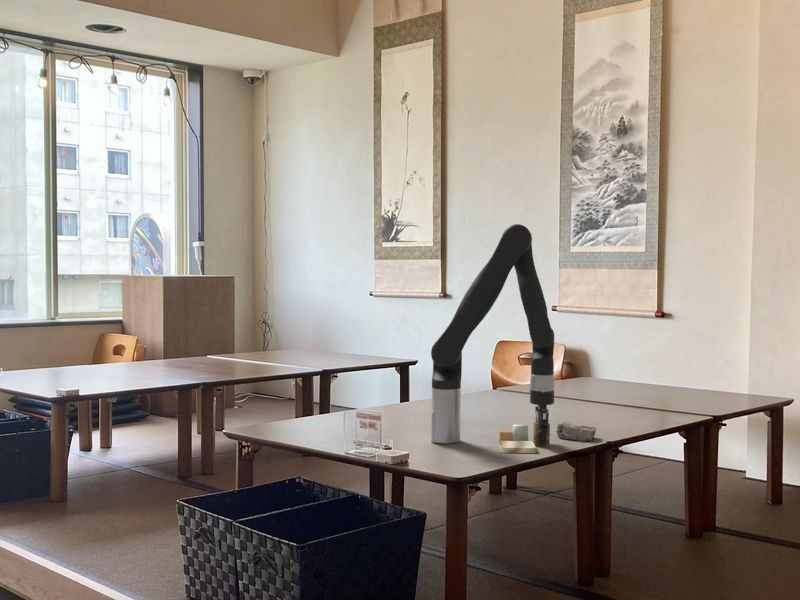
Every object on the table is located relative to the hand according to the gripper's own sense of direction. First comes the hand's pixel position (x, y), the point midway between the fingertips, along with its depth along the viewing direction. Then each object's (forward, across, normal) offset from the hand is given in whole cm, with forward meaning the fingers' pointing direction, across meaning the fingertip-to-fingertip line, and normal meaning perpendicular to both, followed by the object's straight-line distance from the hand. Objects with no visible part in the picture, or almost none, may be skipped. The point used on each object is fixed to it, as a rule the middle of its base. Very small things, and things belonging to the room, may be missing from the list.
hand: (541, 441), depth 288 cm
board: (+1, +7, -8) cm, 11 cm away
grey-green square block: (+1, -7, -6) cm, 9 cm away
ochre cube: (+1, -2, -11) cm, 11 cm away
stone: (+1, -12, +13) cm, 17 cm away
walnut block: (+1, 0, 0) cm, 1 cm away
